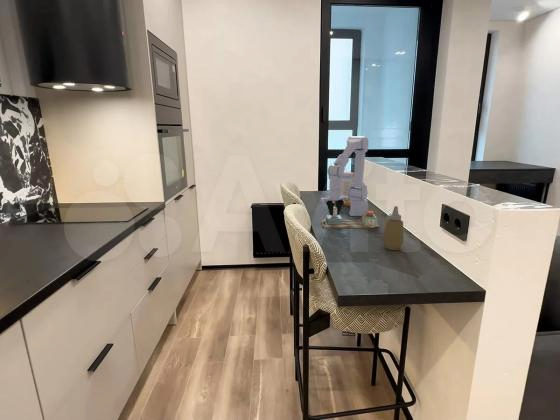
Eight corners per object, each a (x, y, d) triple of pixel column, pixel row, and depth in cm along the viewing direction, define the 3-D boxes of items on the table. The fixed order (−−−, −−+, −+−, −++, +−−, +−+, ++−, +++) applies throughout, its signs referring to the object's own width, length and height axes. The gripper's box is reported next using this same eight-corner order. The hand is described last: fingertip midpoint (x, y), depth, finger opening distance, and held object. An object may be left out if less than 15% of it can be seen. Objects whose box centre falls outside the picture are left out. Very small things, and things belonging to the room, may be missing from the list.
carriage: (340, 220, 170) (340, 205, 168) (341, 224, 163) (342, 209, 161) (326, 220, 171) (327, 205, 169) (327, 224, 164) (328, 209, 162)
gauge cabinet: (373, 222, 170) (373, 213, 169) (377, 227, 162) (377, 218, 161) (361, 222, 170) (362, 213, 169) (364, 227, 162) (365, 218, 161)
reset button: (372, 218, 168) (373, 210, 167) (374, 221, 163) (375, 213, 162) (364, 218, 168) (364, 210, 167) (365, 221, 164) (366, 213, 163)
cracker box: (354, 204, 208) (355, 172, 203) (350, 206, 203) (352, 173, 198) (334, 202, 215) (335, 170, 210) (330, 204, 210) (331, 172, 205)
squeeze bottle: (388, 243, 141) (391, 203, 136) (406, 248, 135) (410, 206, 131) (378, 248, 135) (381, 206, 131) (397, 253, 130) (401, 210, 125)
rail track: (375, 222, 170) (375, 217, 170) (379, 227, 162) (379, 222, 161) (321, 222, 172) (321, 217, 171) (322, 227, 163) (322, 222, 163)
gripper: (343, 186, 169) (342, 211, 172) (318, 188, 164) (318, 214, 167) (350, 188, 162) (349, 214, 166) (325, 190, 157) (324, 217, 161)
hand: (334, 214), depth 166 cm, fingers closed on carriage, 3 cm apart
